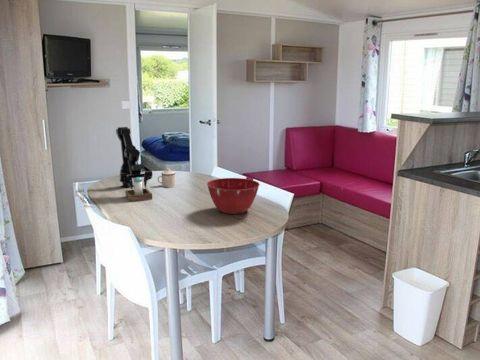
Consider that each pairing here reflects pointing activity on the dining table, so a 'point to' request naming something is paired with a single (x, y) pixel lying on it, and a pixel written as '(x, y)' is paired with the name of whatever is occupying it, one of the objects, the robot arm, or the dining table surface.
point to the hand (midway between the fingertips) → (138, 188)
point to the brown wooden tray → (145, 196)
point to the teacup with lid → (167, 178)
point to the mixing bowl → (233, 194)
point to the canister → (138, 186)
